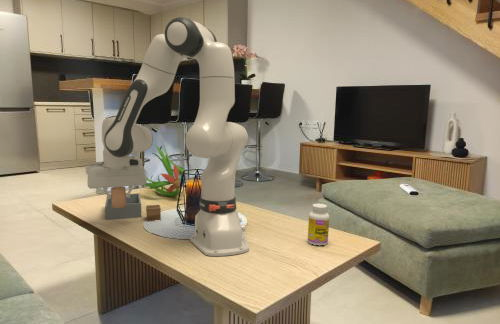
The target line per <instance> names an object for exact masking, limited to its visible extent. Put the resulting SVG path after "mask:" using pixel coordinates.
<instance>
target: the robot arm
mask: <svg viewBox="0 0 500 324" xmlns="http://www.w3.org/2000/svg"><path fill="white" fill-rule="evenodd" d="M166 24H167V25H166V27H165V29H164V33H160V34H156V35H154V37H153V38H152V40H151V42H150V44H149V46H148V48H147V51H146V53H145V55H144V58H143V61H142V64H141V67H140V69H139V71H138V73H137V75H136V77H135V79H134V80H133V82H132V83H131V84H130V85H129V88H128V89H127V91H126V93H125V96H124V97H123V100H122V102H121V104H120V107H119V110H118V112H117V114H116V115H112V116H107V117H105V118H104V119H103V121H102V123H101V124H102V125H101V142H102V145H103V149H102V150H103V151H102V157H103V158H102V161H97V162H93V161H91V162H89V163H87V164H86V166H85V174H87V187H88V188H89V189H90V190H91V189H102V191H103V192H104V193H105V195H106V198H107V200H110V199H112V198H111V193H109V192H108V188H112V187H121V186H123V187H128V189H129V190H128V192H126V198H130V194H132V191H133V189H134V188H133V187H134V186H145V184H146V183H148V181H147V180H146V177H147V175H146V170H145V167H144V166H143V160H142V159H141V158H139V157H136V156H133V154H134V155H135V154H138V153H142V152H146V151H148V150H149V149H151V147H152V146H153V142H154V141H153V139H154V138H153V136H154V135H153V133H152V130H151V129H150V128H148V127H147V126H145V125H142V124H138V123H137V120H138V118H139V116H140V114H141V111H142V110H143V107H144V106H145V105H146V104H147V103H148V102H149V101H152V100H153V99H154V98H156V97H160V96H163V95H164V94H165V93H167V92H168V91H169V90H170V88H171V86H172V85H173V83H174V80H175V77H176V74H177V70H178V68H179V65H180V63H181V61H182V60H184V59H186V60H191V61H196V62H197V63H198V66H199V104H198V105H199V106H198V110H197V114H196V117H195V120H194V123H192V125H191V127H190V128H189V129H188V130H187V132H186V134H185V140H184V141H185V146H186V149H187V151H188V152H189V154H191V155H192V156H194V157H196V158H203V159H209V160H208V163H207V165H206V167H205V169H203V171H202V173H201V177H200V179H201V180H200V181H201V183H200V187H201V189H200V192H201V193H200V194H201V195H200V197H199V209H200V210H199V211H198V212H197V213H196V214H195V217H194V234H193V235H191V236H189V241H190V242H191V243H192V244H193V245H194V246H195V247H196V248H198V249H199V250H200V251H201V253H202V254H204V255H205V256H211V257H225V256H226V257H227V256H232V255H239V254H240V255H241V254H244V253H247V252H249V251H250V247H249V244H248V241H247V238H246V234H245V232H246V225H245V224H241V223H242V221H243V219H242V218H241V217H240V216H239V211H238V210H237V200H236V196H235V189H236V188H235V187H236V185H235V184H236V173H237V172H236V171H237V167H238V164H239V162H240V161H239V160H240V158H241V155H242V152H243V150H244V149H245V147H247V145H248V141H249V135H248V132H247V130H246V128H245V127H244V126H243V125H241V124H238V123H237V122H232V121H227V119H228V115H229V113H230V111H231V109H232V108H233V107H234V105H235V102H236V97H235V95H236V93H235V92H236V91H235V90H236V89H235V85H236V84H235V66H234V65H235V64H234V60H233V59H234V58H233V53H232V50H231V48H230V46H229V45H227V44H225V43H223V42H220V41H218V40H217V37H216V35H215V34H214V33H213V32H212V31H211V30H210V29H209V28H207V27H205V26H203V25H202V24H201V23H199V22H197V21H195V20H192V19H190V18H187V17H181V16H180V17H175V18H173V19H171V20H170V21H169V22H168V23H166Z"/></svg>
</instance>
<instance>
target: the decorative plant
mask: <svg viewBox="0 0 500 324" xmlns="http://www.w3.org/2000/svg"><path fill="white" fill-rule="evenodd" d="M154 146H155V147H156V150H157V151H158V153H159V155H160V156H159V155H158V154H157V153H154V152H151V154H153V155H154V156H156V157H157V158H158V160H160V161H161V163H162V164H163V166H162V167H164V169H165V170H166V172H167V173H160V175H161V176H162V177H163V179H164V180H160V175H158V177H157V181H155V180H152V178H153V175H151V176H150V179H149V178H148V177H147V176H146V180H147V182H146V184H145V185H144V186H145V187H144V188H145V189H149V190H150V189H151V190H155V192H156V193H157V194H158V195H162V196H165V197H170V198H175V197H177V196H178V195H179V194H180V191H179V190H180V189H179V188H180V180H181V175H182V172H183V171H184V170H185V169H184V168H183V167H181V166H180V165H178V164H177V161H178V160H177V159H176V160H175V163H176V164H175V163H174V162H173V161H172V160H170V157H169V155H168V153H167V150H166V147H165V145H163V146H160V147H159V146H157V145H156V144H154ZM162 148H163V149H164V152H165V154H164V152H163V151H162ZM172 166H173V167H172ZM179 176H180V177H179ZM166 186H169V187H168V188H166ZM174 190H175V191H174Z"/></svg>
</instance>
